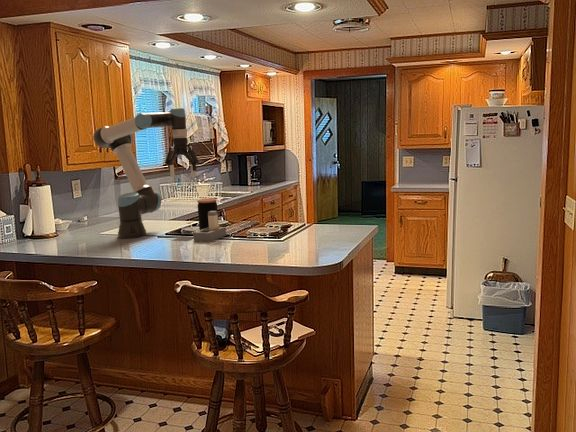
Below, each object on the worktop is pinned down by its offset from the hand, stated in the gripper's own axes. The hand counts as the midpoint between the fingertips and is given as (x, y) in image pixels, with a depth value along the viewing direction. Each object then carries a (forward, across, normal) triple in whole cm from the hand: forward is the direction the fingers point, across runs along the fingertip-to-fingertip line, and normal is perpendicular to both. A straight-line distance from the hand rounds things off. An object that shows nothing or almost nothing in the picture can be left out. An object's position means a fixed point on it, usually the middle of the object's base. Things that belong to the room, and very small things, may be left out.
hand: (183, 177), depth 302 cm
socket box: (+31, +20, -8) cm, 38 cm away
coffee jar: (+32, +9, +8) cm, 34 cm away
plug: (+30, +20, -4) cm, 37 cm away
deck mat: (+32, +7, -13) cm, 35 cm away
